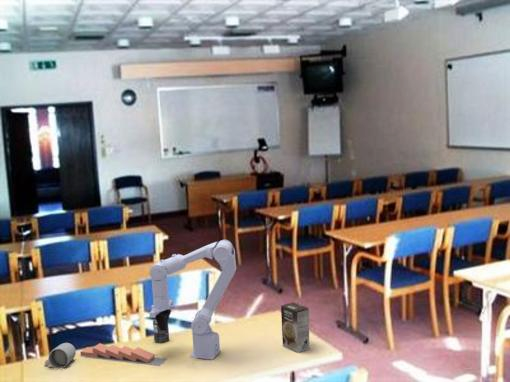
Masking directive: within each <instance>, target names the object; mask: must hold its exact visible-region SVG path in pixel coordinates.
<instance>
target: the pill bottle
mask: <svg viewBox="0 0 510 382" xmlns="http://www.w3.org/2000/svg"><path fill="white" fill-rule="evenodd" d="M152 329H153V340H154V343H156V344H166V343H168V342H169V341H170V330H169V322H168V323H167V329H166V330H165V331H163V330H160V328H159V326H158V323H157V321H156V319H155V318H154V319H153V320H152Z"/></svg>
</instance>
